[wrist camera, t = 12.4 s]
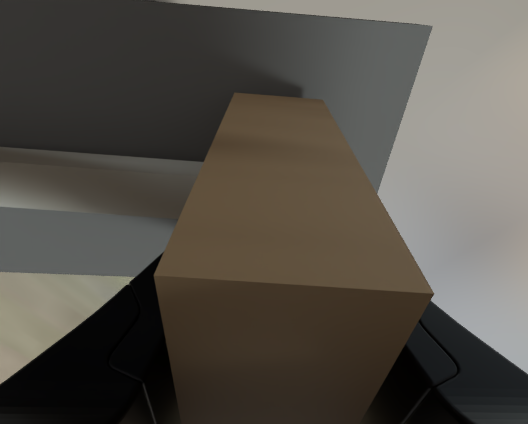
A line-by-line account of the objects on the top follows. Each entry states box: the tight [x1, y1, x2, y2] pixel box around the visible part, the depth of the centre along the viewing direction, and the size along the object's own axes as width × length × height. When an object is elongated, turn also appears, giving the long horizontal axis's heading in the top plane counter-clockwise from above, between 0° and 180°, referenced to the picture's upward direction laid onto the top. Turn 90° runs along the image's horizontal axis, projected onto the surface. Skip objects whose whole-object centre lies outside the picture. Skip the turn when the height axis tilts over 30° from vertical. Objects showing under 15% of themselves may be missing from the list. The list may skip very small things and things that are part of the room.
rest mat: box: [0, 0, 432, 277], centre depth 11 cm, size 10×18×1 cm, turn 86°
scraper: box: [0, 93, 434, 424], centre depth 7 cm, size 7×14×7 cm, turn 86°
